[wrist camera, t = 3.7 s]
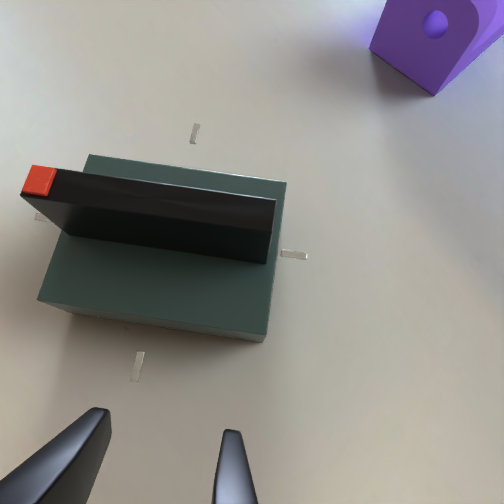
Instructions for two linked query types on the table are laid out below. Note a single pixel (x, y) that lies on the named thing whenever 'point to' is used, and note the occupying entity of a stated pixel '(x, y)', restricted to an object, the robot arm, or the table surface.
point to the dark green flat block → (167, 267)
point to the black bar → (153, 213)
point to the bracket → (436, 37)
